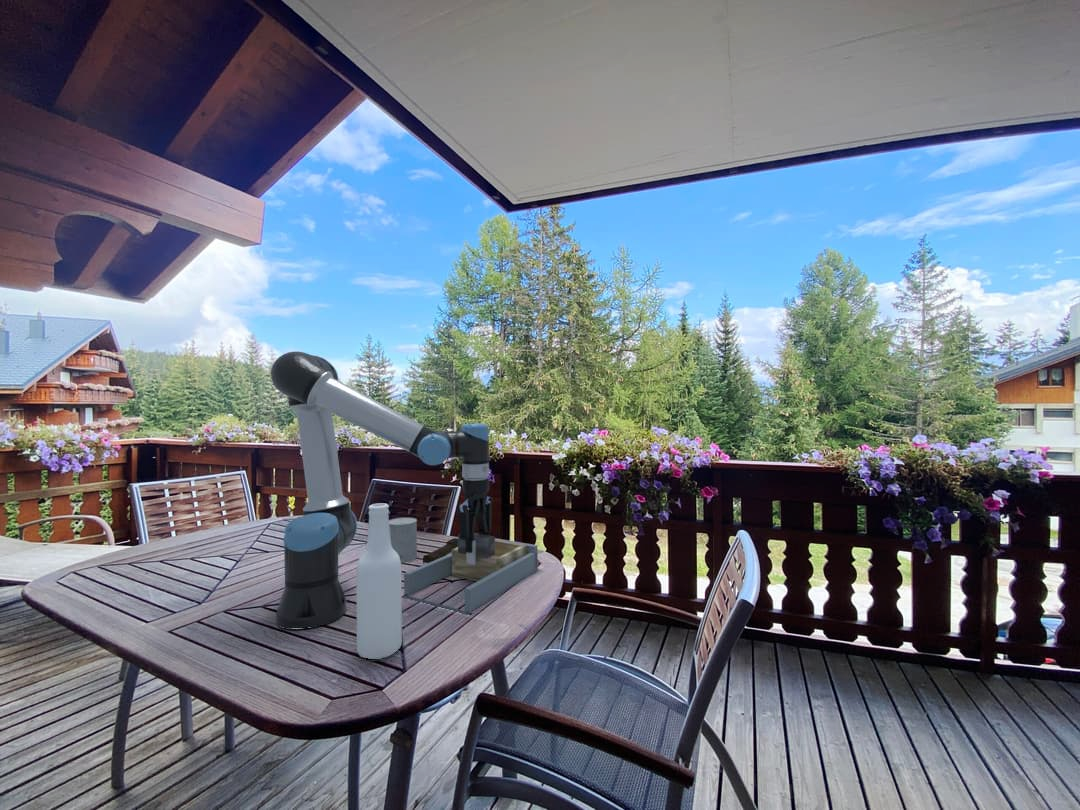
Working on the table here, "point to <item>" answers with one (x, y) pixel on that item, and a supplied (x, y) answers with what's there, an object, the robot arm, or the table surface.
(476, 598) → the bay
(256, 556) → the table surface
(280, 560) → the table surface
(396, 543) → the grey cylindrical piece
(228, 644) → the table surface
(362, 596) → the alcohol
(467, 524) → the robot arm
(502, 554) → the crate
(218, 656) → the table surface
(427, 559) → the hand tool
